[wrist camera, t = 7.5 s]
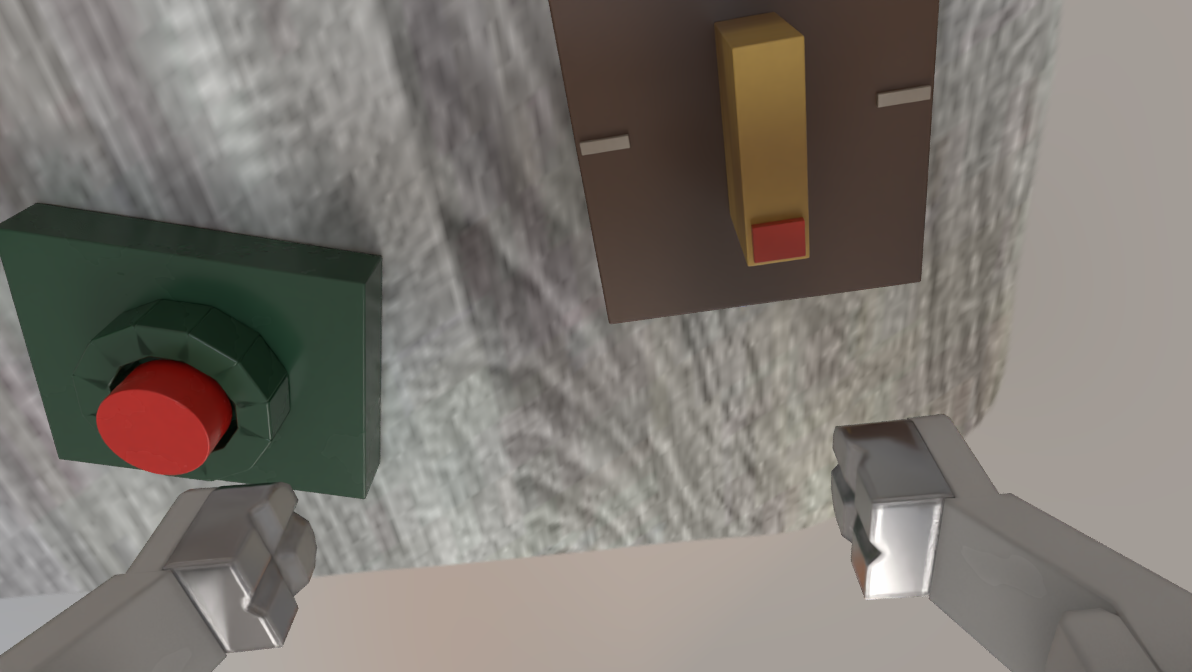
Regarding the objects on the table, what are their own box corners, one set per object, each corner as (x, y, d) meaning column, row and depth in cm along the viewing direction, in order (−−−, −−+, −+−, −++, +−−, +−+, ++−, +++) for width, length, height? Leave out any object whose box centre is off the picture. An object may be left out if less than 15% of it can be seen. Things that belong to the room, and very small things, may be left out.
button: (227, 367, 25) (203, 398, 23) (237, 448, 27) (215, 482, 25) (117, 351, 25) (85, 381, 23) (134, 434, 27) (106, 468, 25)
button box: (382, 255, 27) (348, 310, 23) (380, 463, 32) (352, 533, 28) (35, 201, 26) (-52, 251, 22) (91, 424, 31) (27, 491, 28)
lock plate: (908, -165, 20) (954, -172, 17) (891, 242, 26) (923, 284, 23) (541, -92, 21) (530, -88, 18) (609, 282, 27) (609, 327, 24)
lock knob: (713, 22, 19) (732, 50, 16) (774, 11, 19) (807, 37, 16) (729, 215, 22) (749, 271, 19) (783, 207, 22) (812, 262, 19)
